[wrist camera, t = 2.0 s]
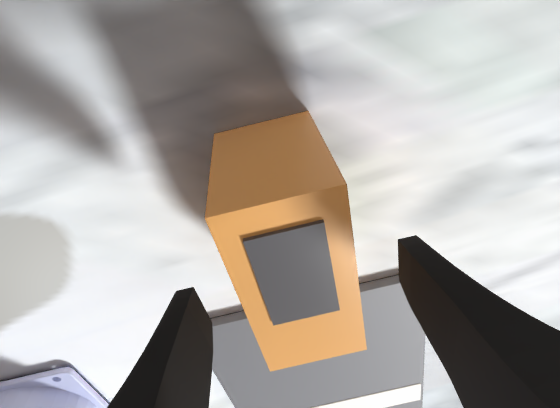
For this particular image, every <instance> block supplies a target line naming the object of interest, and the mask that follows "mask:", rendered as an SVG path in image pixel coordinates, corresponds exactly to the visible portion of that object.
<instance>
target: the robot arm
mask: <svg viewBox="0 0 560 408" xmlns="http://www.w3.org/2000/svg"><path fill="white" fill-rule="evenodd" d="M398 260H399V282H400V284H401V286H402V289H403V291H404V294H405V296H406V298H407V301H408V303H409V305H410V307H411V309H412V311H413V313H414V315H415V316H416V318H417V320H418V322H419V324H420V325H421V327H422V329H423V331H424V332H425V334H426V336H427V338H428V339H429V341H430V343H431V345H432V346H433V348H434V350H435V352H436V353H437V355H438V357H439V359H440V360H441V362H442V364H443V366H444V368H445V369H446V371H447V373H448V375H449V377H450V379H451V381H452V383H453V385H454V388H455V390H456V392H457V394H458V396H459V399H460V401H461V403H462V405H463V407H464V408H560V331H559V330H557V329H555V328H553V327H551V326H549V325H547V324H545V323H543V322H541V321H540V320H538V319H536V318H534V317H532V316H530V315H529V314H527V313H525V312H524V311H522V310H520V309H518V308H517V307H515V306H513V305H512V304H510V303H508V302H507V301H505V300H503V299H502V298H500V297H499V296H497V295H496V294H494V293H493V292H491V291H490V290H488V289H487V288H485V287H483V286H482V285H481V284H479V283H478V282H476V281H475V280H473V279H472V278H471V277H469V276H468V275H466V274H465V273H464V272H462V271H461V270H460V269H458V268H457V267H455V266H454V265H453V264H452V263H450V262H449V261H448V260H446V259H445V258H444V257H443V256H441V255H440V254H439V253H437V252H436V251H435V250H434V249H432V248H431V247H430V246H429V245H428V244H426V243H425V242H424V241H423V240H421V239H420V238H419V237H417V236H416V235H415V236H411V237H407V238H402V239H398ZM212 362H213V327H212V321H211V320H210V318H209V316H208V314H207V312H206V310H205V308H204V306H203V304H202V302H201V300H200V299H199V297H198V295H197V293H196V291H195V289H194V287H191V288H187V289H183V290H179V291H176V293H175V294H174V296H173V298H172V300H171V302H170V304H169V306H168V308H167V309H166V311H165V313H164V315H163V317H162V319H161V321H160V323H159V325H158V327H157V328H156V330H155V332H154V334H153V336H152V337H151V339H150V341H149V343H148V344H147V346H146V348H145V350H144V352H143V353H142V355H141V357H140V358H139V360H138V361H137V363H136V365H135V366H134V368H133V370H132V371H131V373H130V374H129V376H128V378H127V379H126V381H125V382H124V384H123V385H122V387H121V388H120V390H119V391H118V393H117V394H116V396H115V397H114V398H113V400H112V401H111V403H110V404H108V403H107V402H106V401H105V400H104V399H103V398H102V397H101V396H100V395H99V394H98V393H97V392H96V391H95V390H94V389H93V388H92V387H91V386H90V385H89V384H88V383H87V382H86V381H85V380H84V379H83V378H82V377H81V376H80V375H79V374H78V373H77V372H76V371H75V370H73V369H72V368H69V367H63V368H58V369H54V370H50V371H45V372H41V373H37V374H32V375H28V376H24V377H19V378H15V379H11V380H6V381H2V382H0V408H208V407H209V396H210V385H211V374H212Z"/></svg>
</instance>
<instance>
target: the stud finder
mask: <svg viewBox="0 0 560 408" xmlns="http://www.w3.org/2000/svg"><path fill="white" fill-rule="evenodd" d="M205 220H206V222H207V225H208V227H209V229H210V232H211V234H212V237H213V239H214V241H215V244H216V246H217V248H218V251H219V253H220V255H221V258H222V260H223V262H224V265H225V267H226V269H227V272H228V274H229V276H230V279H231V281H232V283H233V286H234V288H235V291H236V293H237V295H238V298H239V300H240V302H241V305H242V307H243V309H244V312H245V314H246V316H247V319H248V321H249V323H250V326H251V328H252V330H253V333H254V335H255V338H256V340H257V342H258V345H259V347H260V349H261V352H262V354H263V356H264V359H265V361H266V363H267V366H268V368H269V370H270V372H271V371H275V370H280V369H284V368H288V367H293V366H297V365H302V364H306V363H310V362H315V361H319V360H323V359H328V358H332V357H337V356H341V355H345V354H350V353H354V352H359V351H363V350H367V346H366V338H365V329H364V321H363V313H362V305H361V297H360V289H359V280H358V272H357V264H356V256H355V248H354V239H353V231H352V223H351V215H350V207H349V199H348V190H347V184H346V182H345V180H344V178H343V176H342V174H341V172H340V170H339V168H338V166H337V165H336V163H335V161H334V159H333V157H332V155H331V153H330V151H329V149H328V147H327V145H326V144H325V142H324V140H323V138H322V136H321V134H320V132H319V130H318V128H317V126H316V124H315V123H314V121H313V119H312V117H311V115H310V113H309V111H304V112H300V113H296V114H292V115H288V116H284V117H280V118H276V119H272V120H268V121H264V122H260V123H256V124H252V125H248V126H244V127H240V128H236V129H232V130H228V131H224V132H220V133H216V134H214V139H213V148H212V157H211V166H210V175H209V184H208V194H207V203H206V212H205Z"/></svg>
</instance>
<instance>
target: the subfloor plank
mask: <svg viewBox="0 0 560 408" xmlns="http://www.w3.org/2000/svg"><path fill="white" fill-rule="evenodd" d="M359 289H360V297H361V305H362V313H363V321H364V329H365V338H366V346H367V350H363V351H359V352H354V353H350V354H345V355H341V356H337V357H332V358H328V359H323V360H319V361H315V362H310V363H306V364H302V365H297V366H293V367H288V368H284V369H280V370H275V371H271V372H270V370H269V368H268V366H267V363H266V361H265V359H264V356H263V354H262V352H261V349H260V347H259V345H258V342H257V340H256V338H255V335H254V333H253V330H252V328H251V326H250V323H249V321H248V319H247V316H246V314H245V312H244V311H241V312H237V313H233V314H228V315H224V316H220V317H215V318H211V319H210V320H211V321H212V327H213V362H212V370H213V371H214V373H215V375H216V376H217V378H218V380H219V381H220V383H221V385H222V386H223V388H224V390H225V391H226V393H227V395H228V397H229V398H230V400H231V402H232V403H233V405H234V407H235V408H422V399H423V375H424V351H425V332H424V331H423V329H422V327H421V325H420V324H419V322H418V320H417V318H416V316H415V315H414V313H413V311H412V309H411V307H410V305H409V303H408V301H407V298H406V296H405V294H404V291H403V289H402V286H401V284H400V282H399V275H396V276H392V277H387V278H383V279H379V280H374V281H370V282H366V283H362V284H359Z"/></svg>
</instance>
